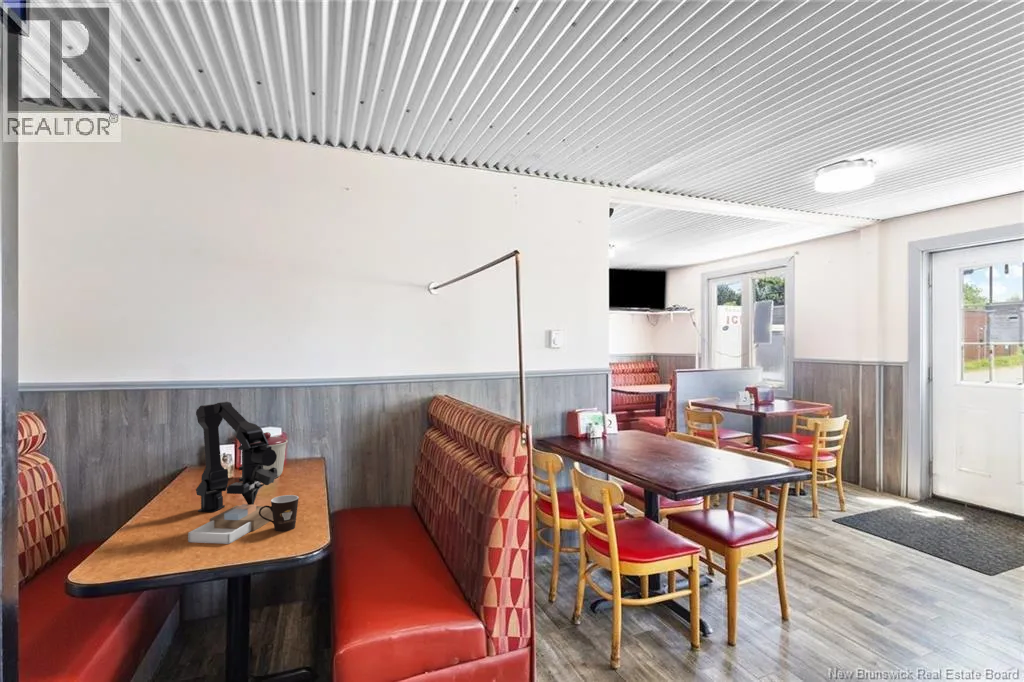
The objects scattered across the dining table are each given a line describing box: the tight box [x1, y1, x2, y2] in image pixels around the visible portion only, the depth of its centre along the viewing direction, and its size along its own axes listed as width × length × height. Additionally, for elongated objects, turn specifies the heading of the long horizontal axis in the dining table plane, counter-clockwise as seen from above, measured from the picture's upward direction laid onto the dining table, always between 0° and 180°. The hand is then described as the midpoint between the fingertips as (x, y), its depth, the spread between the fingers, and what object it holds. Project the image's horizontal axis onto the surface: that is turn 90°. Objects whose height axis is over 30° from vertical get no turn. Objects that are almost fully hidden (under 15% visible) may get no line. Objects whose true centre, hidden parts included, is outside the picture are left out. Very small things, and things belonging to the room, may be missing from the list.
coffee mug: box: [259, 494, 299, 533], centre depth 171 cm, size 12×9×10 cm
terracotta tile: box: [235, 503, 257, 515], centre depth 177 cm, size 5×5×2 cm
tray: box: [187, 520, 251, 545], centre depth 164 cm, size 14×11×3 cm
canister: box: [253, 431, 288, 478], centre depth 237 cm, size 18×18×21 cm
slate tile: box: [224, 509, 248, 520], centre depth 172 cm, size 5×5×2 cm
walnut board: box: [209, 505, 273, 532], centre depth 177 cm, size 16×14×4 cm
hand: (251, 506), depth 180 cm, fingers closed
